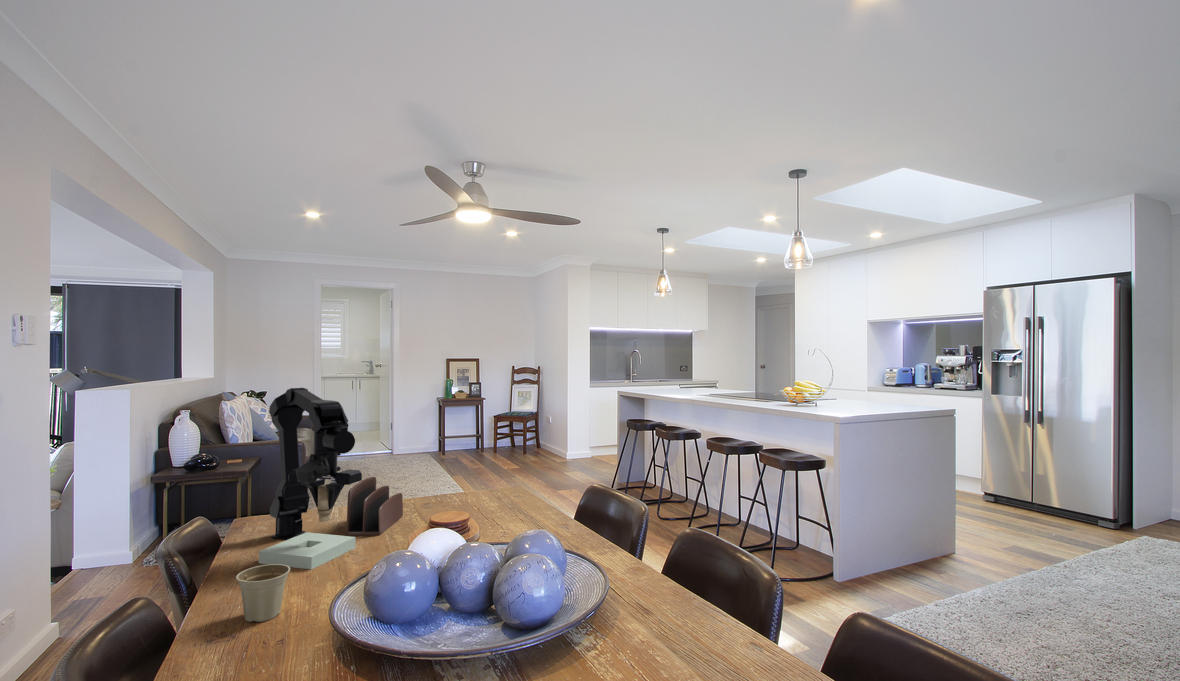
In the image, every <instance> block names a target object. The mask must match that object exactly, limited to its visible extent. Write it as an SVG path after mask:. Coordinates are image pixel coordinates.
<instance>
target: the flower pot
mask: <svg viewBox="0 0 1180 681" xmlns="http://www.w3.org/2000/svg"><path fill="white" fill-rule="evenodd" d="M290 572H291V567H289V566H287V565H283V564H261V565H256V566H253V567H249V568H247V569H244V570H242V571H240V572H239V573H237V575H236V576H235V580H236V581H237V582H238V586H239V587H240V593H241V600H242V606H243V607H242V608H243V615H244V620H245V621H246V622H249V623H252V622H258V623H259V622H260V623H261V622H266V621H269V620H272V619H274V618H276V617H277V616H278V615H280V613H281V611H282V603H283V598H284V591H285V586H286V581H287V579H288V575H289V573H290Z"/></svg>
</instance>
